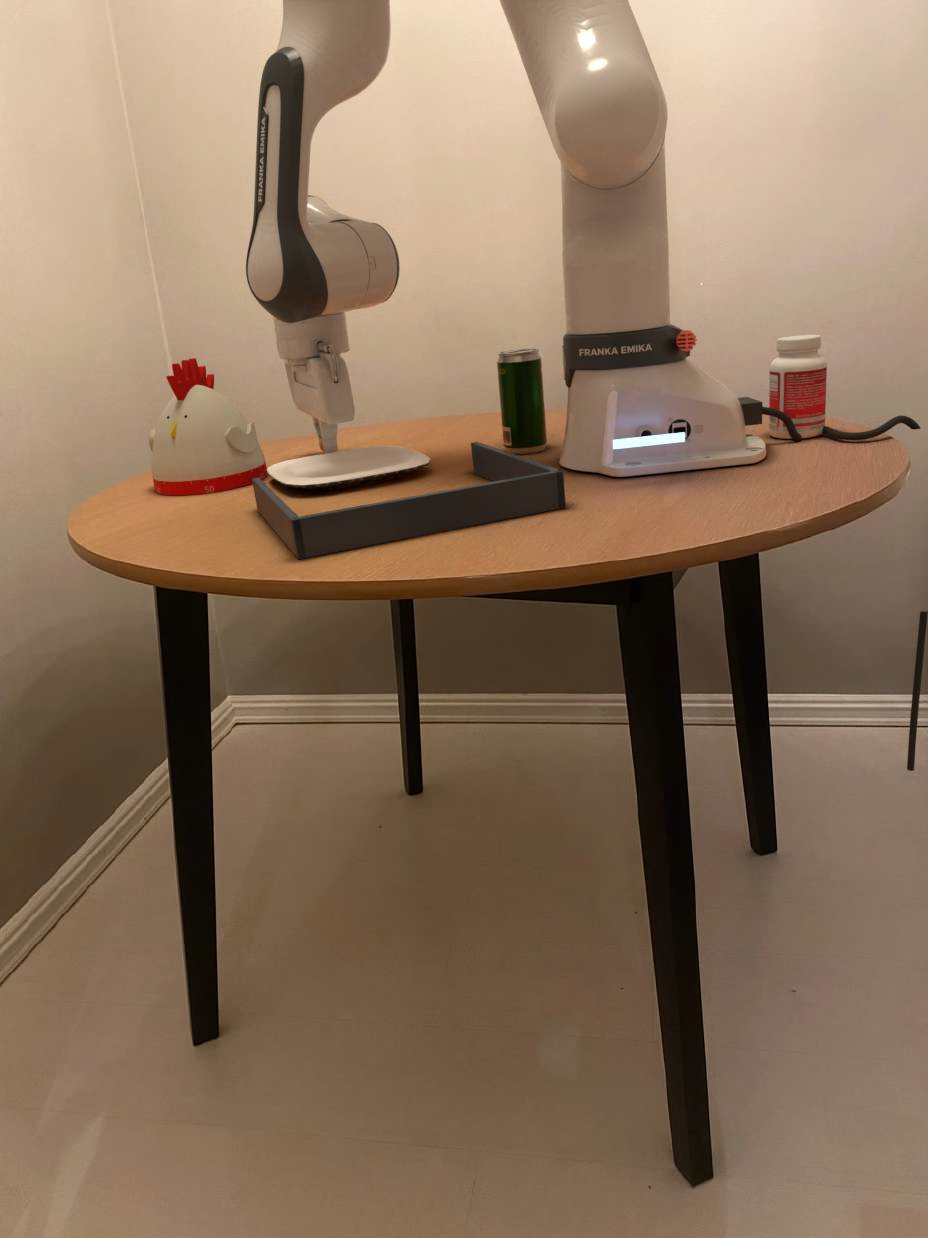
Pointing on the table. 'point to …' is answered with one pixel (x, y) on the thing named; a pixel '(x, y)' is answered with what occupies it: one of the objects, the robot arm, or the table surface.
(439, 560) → the table surface
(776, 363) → the pill bottle
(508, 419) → the beer can
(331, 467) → the plate
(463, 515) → the tray
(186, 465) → the kitchen timer
